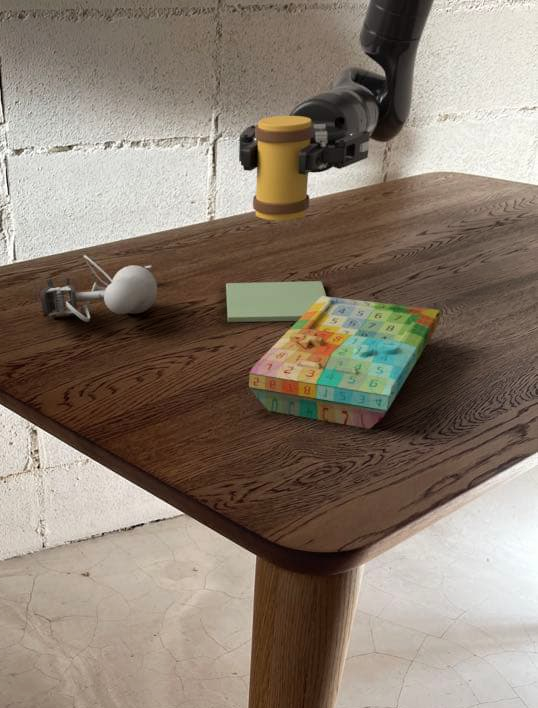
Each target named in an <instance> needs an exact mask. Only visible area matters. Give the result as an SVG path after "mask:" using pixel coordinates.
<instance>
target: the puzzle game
mask: <svg viewBox="0 0 538 708" xmlns="http://www.w3.org/2000/svg"><path fill="white" fill-rule="evenodd" d="M441 313H442V311H441V310H440V309H433V308H425V307H417V306H409V305H401V304H400V305H399V304H394V303H393V304H391V303H385V302H376V301H368V300H358V299H350V298H342V297H334V296H327V295H326V296H321V297H320V298H319V299H318V300H317V302H316V303H315V304H314V305H313V306H312V307H311V308H310V309H309V310H308V311H307V312H306V313H305V314H304V315H303V316H302V317H301V318H300V319H299V320H298V321H295V323H294V324H293V325H292V326H291V327H290V328H289V329H288V330H287V331H286V332H285V333H284V334H283V335H282V336H281V338H279V339H278V341H277V342H275V343H274V344H273V345H272V347H270V349H269V350H268V351H267V352H266V353H265V354H264V355H263V356H262V357H261V358H260V359H259V360H258V361H257V362H256V363H255V364H254V365H253V366H252V368H251V370H250V371H249V372H248V389H249V390H250V391H251V392H252V394H253V395H254V396H255V397H256V398H257V399H258V400H259V401H260V403H261V405H263V406H264V408H265V409H266V410H267V411H269V412H273V413H278V414H285V415H289V416H296V417H300V418H301V417H302V418H306V419H313V420H317V421H323V422H329V423H333V424H339V425H340V424H341V425H345V426H350V427H351V426H352V427H356V428H357V427H358V428H363V429H368V430H369V429H371V428H372V427H374V426H375V425H376V424H378V422H380V421H381V420H382V419H383V418H384V416H385V415H386V414H387V412H388V410H389V408H390V407H391V406H392V404H393V402H394V400H395V399H396V397H397V395H398V393H399V392H400V390H401V388H402V387H403V385H404V383H405V382H406V380H407V378H408V376H409V375H410V373H411V371H412V370H413V368H414V367H415V365H416V363H417V361H418V360H419V358H420V356H421V355H422V353H423V351H424V350H425V348H426V346H427V344H428V343H429V342H430V340H431V338H432V337H433V335H434V333H435V331H436V329H437V328H438V326H439V324H440V320H441Z"/></svg>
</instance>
